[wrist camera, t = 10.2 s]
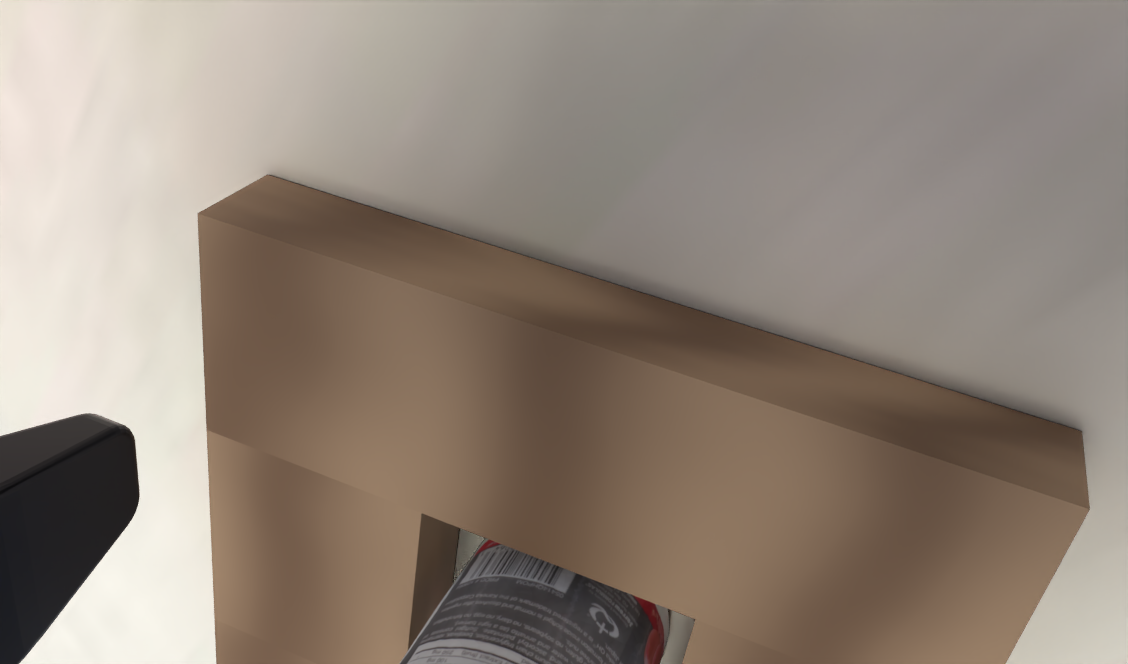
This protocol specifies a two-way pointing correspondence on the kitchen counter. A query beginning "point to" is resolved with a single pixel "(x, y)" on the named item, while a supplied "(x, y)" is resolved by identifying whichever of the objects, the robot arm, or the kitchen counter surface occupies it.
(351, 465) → the hole plate
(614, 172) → the kitchen counter surface
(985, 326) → the kitchen counter surface
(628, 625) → the pill bottle
